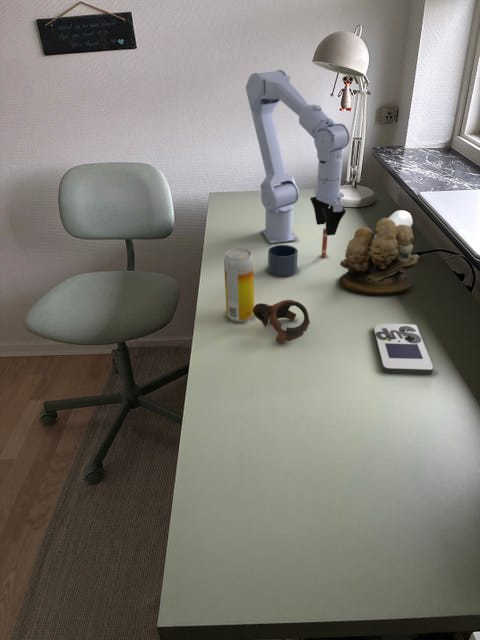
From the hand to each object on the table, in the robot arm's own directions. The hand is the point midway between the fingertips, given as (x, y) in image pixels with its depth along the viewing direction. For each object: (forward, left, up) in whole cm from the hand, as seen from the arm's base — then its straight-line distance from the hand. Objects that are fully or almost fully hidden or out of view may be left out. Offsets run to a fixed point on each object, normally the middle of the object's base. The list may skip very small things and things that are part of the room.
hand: (325, 229), depth 127 cm
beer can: (+24, -28, -8) cm, 38 cm away
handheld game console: (+44, 0, -8) cm, 45 cm away
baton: (0, 0, -8) cm, 8 cm away
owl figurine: (+18, +7, -8) cm, 21 cm away
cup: (+5, -13, -8) cm, 16 cm away
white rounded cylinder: (0, +16, -5) cm, 17 cm away
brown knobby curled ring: (+32, -21, -8) cm, 39 cm away
